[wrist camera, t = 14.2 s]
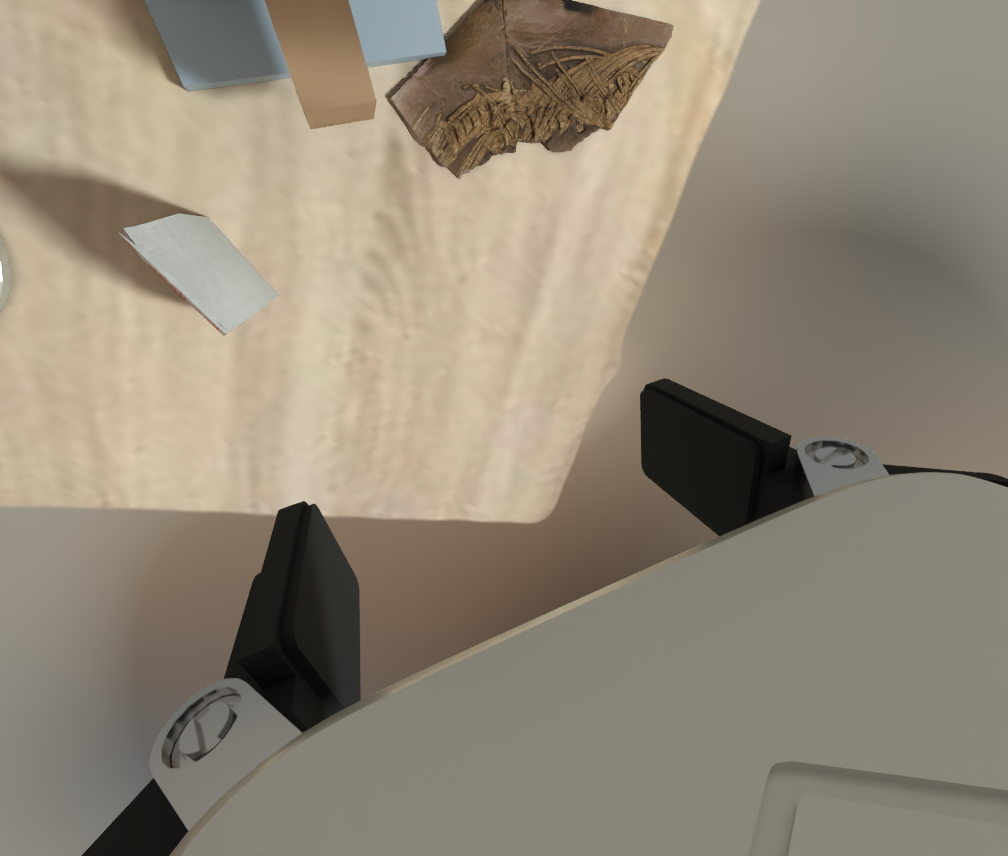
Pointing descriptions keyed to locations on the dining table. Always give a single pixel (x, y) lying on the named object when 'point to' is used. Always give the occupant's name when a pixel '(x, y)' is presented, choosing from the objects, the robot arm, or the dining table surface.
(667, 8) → the dining table surface
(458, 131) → the wooden fragment
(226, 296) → the grey pointed block
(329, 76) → the walnut bar
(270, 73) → the ridge stand
